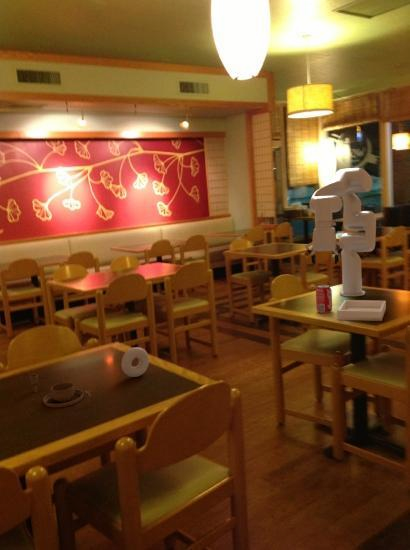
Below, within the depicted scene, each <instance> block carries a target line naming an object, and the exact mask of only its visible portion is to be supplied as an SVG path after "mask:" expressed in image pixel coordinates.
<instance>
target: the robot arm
mask: <svg viewBox="0 0 410 550" xmlns="http://www.w3.org/2000/svg"><path fill="white" fill-rule="evenodd" d="M372 188H373V178H372V176H371V175H370V174H369V173H368V172H367V171H366V170H365V169H364V168H361V167H352V168H341V169H338V170H337V171H336V173H335V174H334V176H333V177H332V180H331V181H330V183H328V184H326V185H324V186H321V187H320V188H319V189H317V190H315V192H314V193H313V195H311V198H310V200H309V210H310V211H311V212H312V213H314V229H313V233H312V241H311V242H310V243H308V244H306V245H304V248H305V250H306V252H307V253H308V254H309V255H310V256H311V257H310V258H311V263H312V265H315V264H316V263H317V260H316V258H317V257H316V253H317V252H333V253H334V264H335V265H337V264H338V263H339V261H340V258H339V256H341V271H342V272H341V273H342V276H341V277H342V290H341V291H340V292H339V295H340V296H342V297H352V298H353V297H360V296H364V295H366V291H365V290H363V280H362V279H363V278H362V258H361V257H360V255H359V253H360V252H361V253H362V252H372V251H373V250H375V247H376V235H377V234H376V233H377V232H376V231H377V217H376V214H375V212H373V211H372V210H362V200H361V199H360V198H359V196H358V195H357V194H358V193H368V192H370V191H371V190H372ZM356 193H357V194H356ZM342 207H343V215H342V216H343V218H342V222H343V225H342V226H343V228H344V229H345V230H346V231H364V232H345V233H343V234H342V235H340V236H339V240H338V241H337V233H336V228H335V227H334V226H337V223H336V222H335V221H333V213H338V212H339V211H341V209H342ZM311 246H312V250H311V248H310V247H311ZM338 246H339V249H337V248H338ZM358 252H359V253H358ZM340 254H341V255H340Z"/></svg>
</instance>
